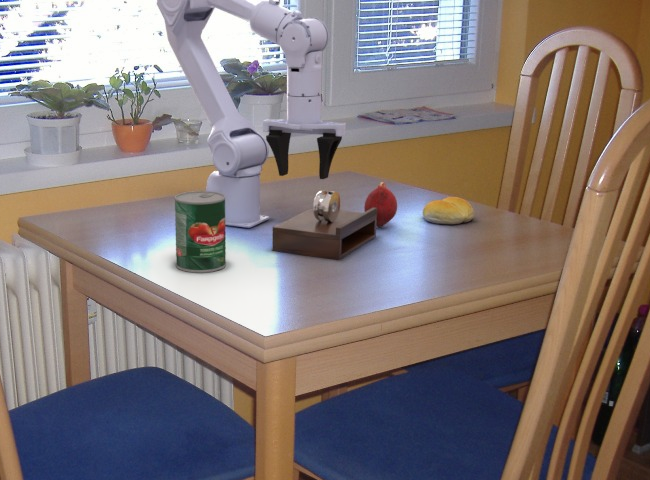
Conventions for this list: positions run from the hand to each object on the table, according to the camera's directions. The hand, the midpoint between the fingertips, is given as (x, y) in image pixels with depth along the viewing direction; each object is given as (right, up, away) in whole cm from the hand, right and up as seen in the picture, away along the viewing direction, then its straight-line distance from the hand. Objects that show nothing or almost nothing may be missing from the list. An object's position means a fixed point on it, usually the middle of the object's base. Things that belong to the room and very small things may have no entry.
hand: (303, 176), depth 176 cm
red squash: (+14, -8, +7) cm, 18 cm away
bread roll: (+27, -6, +12) cm, 30 cm away
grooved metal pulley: (+3, -9, -5) cm, 10 cm away
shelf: (+3, -12, -3) cm, 13 cm away
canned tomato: (-17, -17, -15) cm, 28 cm away
